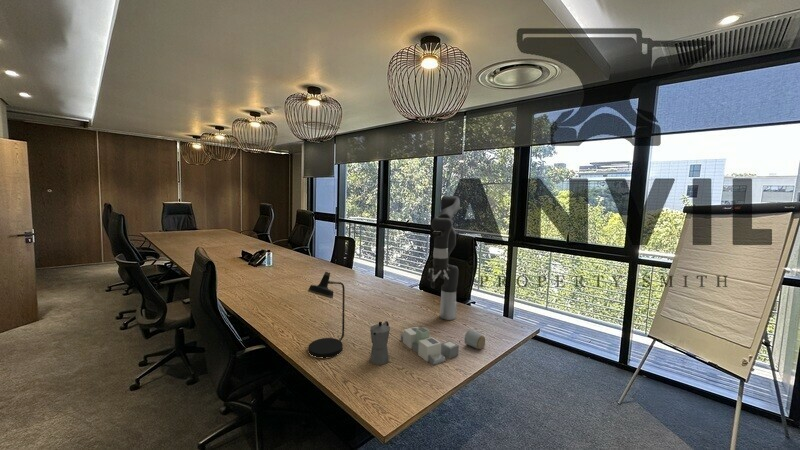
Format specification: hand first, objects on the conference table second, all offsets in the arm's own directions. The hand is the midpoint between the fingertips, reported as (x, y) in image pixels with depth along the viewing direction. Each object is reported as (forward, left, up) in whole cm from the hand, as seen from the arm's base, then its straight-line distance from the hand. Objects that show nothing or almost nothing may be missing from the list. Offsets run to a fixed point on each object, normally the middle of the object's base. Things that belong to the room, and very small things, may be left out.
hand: (439, 287), depth 163 cm
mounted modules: (+15, +6, -28) cm, 32 cm away
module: (+14, +6, -26) cm, 30 cm away
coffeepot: (+36, +4, -28) cm, 46 cm away
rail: (+15, +6, -28) cm, 32 cm away
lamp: (+54, -16, -28) cm, 63 cm away
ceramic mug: (-13, +16, -28) cm, 35 cm away
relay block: (+5, +16, -28) cm, 33 cm away
